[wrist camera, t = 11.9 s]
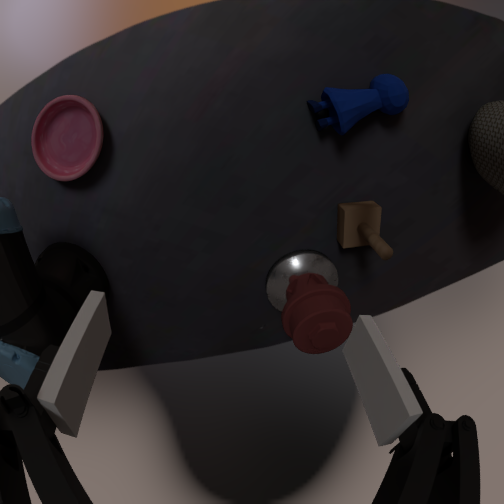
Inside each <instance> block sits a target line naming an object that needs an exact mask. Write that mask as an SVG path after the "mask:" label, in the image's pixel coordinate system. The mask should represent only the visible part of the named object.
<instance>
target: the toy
mask: <svg viewBox="0 0 504 504" xmlns="http://www.w3.org/2000/svg"><path fill="white" fill-rule="evenodd" d="M321 99H322V102H319V103H318V102H316V101H313V100H308V101H307V104H308V107H309V109H310V110H311V111H312V112H313V113H318V112H320V111H322V110H323V109H326V108H327V109H328V110H329V117H328V118H322V119H319V120H317V121H316V123H315V125H316V127H317V130H318V131H320V130H323V129H324V128H326V127H327V126H328V125H331V126H332V127H333V129H334V130H335V131H336V132H337V133H338V134H340V135H344V134H345V133H346V132H347V131H348V130H349V129H351V128H352V127H353V126H354V125H355V124H356V123H357V122H358V121H359V120H361V119H362V118H364V117H365V116H367V115H368V114H370V113H371V112H373V111H375V110H377V109H379V110H380V111H381V112H383V113H386V114H389V115H396V114H398V113H400V112H401V111H403V110H404V109H405V108H406V107H407V104H408V101H409V94H408V90H407V88H406V86H405V85H404V83H403V81H402V80H401V79H399V78H398V77H396V76H394V75H391V74H382V75H379V76H376V77H375V78H374V79H373V80H372V81H371V82H370V89H353V90H347V89H336V88H327V87H325V89H324V90H323V93H322V96H321Z"/></svg>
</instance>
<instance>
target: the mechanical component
mask: <svg viewBox="0 0 504 504" xmlns="http://www.w3.org/2000/svg"><path fill="white" fill-rule="evenodd" d="M289 283H290V284H289V285H288V287H287V290H286V299H287V302H286V304H285V305H284V308H283V310H282V316H281V318H282V324H283V328H284V330H285V332H286V333H287V335H288V336H290V337H291V338H292V339H293V342H294V345H295V346H296V347H297V348H298V349H299V350H300V351H302V352H305V353H309V354H320V353H324V352H328V351H331V350H333V349H335V348H337V347H338V346H340V345H341V344H342V343H343V342H344V341H345V340H346V339H347V338H348V337H349V335H350V333H351V331H352V326H353V323H352V319H351V317H350V312H351V306H350V302H349V300H348V298H347V297H346V295H345V293H344V292H343V291H342V290H341V289H340V288H338V287H336V286H333V285H329V284H328V282H327V280H326V279H325V278H324V277H323V276H322V275H319V274H316V273H306V274H302V275H300V276H297V275H292V276H291V277H290V278H289Z"/></svg>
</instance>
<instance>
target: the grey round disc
mask: <svg viewBox="0 0 504 504" xmlns="http://www.w3.org/2000/svg"><path fill="white" fill-rule="evenodd" d="M306 273H316V274H319V275H322V276H323V277H324V278H325V279H326V280H327V282H328V284H329V285H333V286H336V287H337V286H338V273H337V270H336V268H335V267H334V265H333V263H332V262H331V260H330V259H329V258H328V257H327V256H325V255H324V254H322V253H320V252H318V251H314V250H298V251H294V252H291V253H288V254H286V255H285V256H283V257H281V258H280V259H279V260H278V261H276V262H275V263H274V265H273V266H272V267H271V269H270V270H269V272H268V274H267V278H266V291H267V296H268V299H269V301H270V302H271V304H272V305H273V306H274V307H275V308H276V309H278V310H279V311H281V312H282V310H283V308H284V305H285V304H286V302H287V299H286V290H287V287H288V285H289V284H290V283H289V278H290V277H291V276H292V275H297V276H300V275H302V274H306Z"/></svg>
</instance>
